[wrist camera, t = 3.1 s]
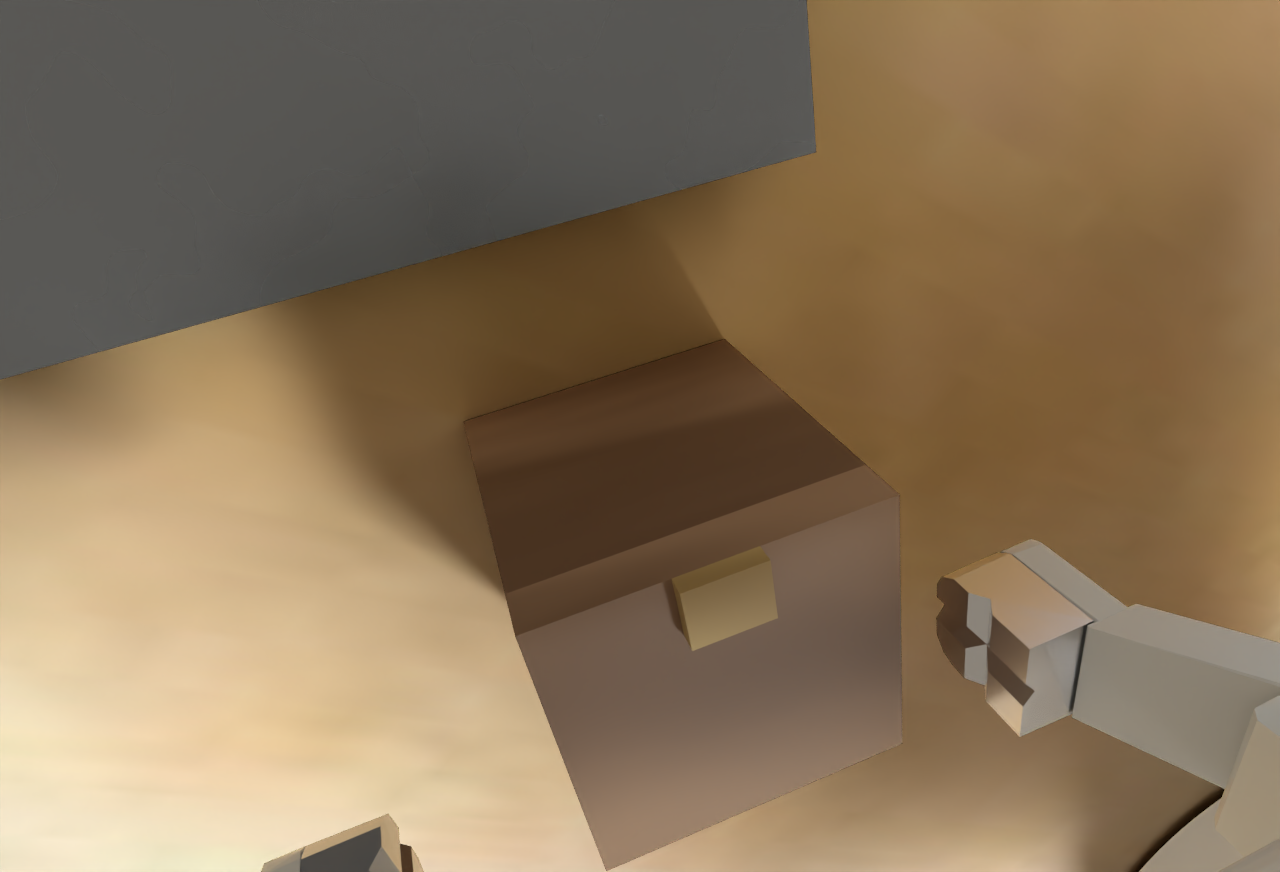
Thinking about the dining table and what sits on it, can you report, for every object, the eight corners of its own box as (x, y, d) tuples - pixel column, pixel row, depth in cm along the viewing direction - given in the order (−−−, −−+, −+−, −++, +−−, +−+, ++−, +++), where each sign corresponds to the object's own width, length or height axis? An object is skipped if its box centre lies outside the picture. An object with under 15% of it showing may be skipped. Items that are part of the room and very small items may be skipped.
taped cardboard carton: (753, 543, 18) (912, 758, 12) (536, 622, 17) (611, 888, 12) (724, 339, 15) (912, 506, 10) (463, 421, 14) (519, 653, 9)
